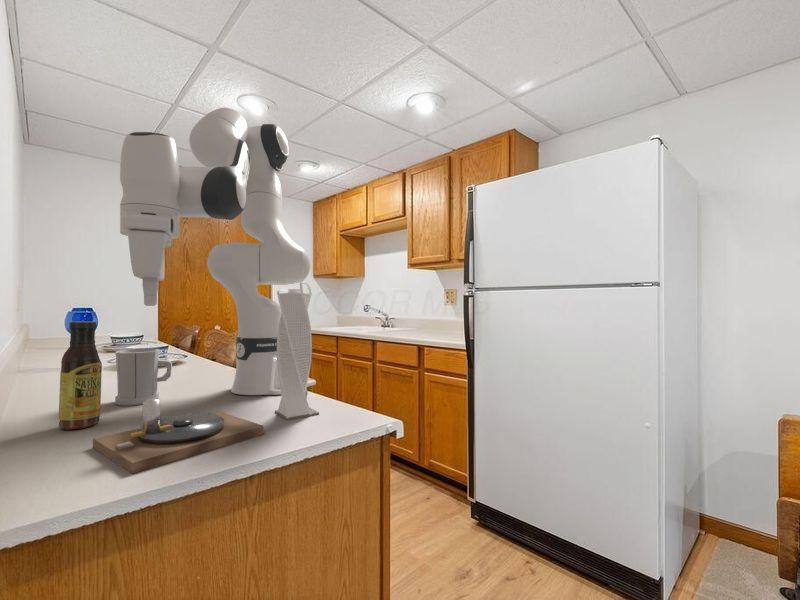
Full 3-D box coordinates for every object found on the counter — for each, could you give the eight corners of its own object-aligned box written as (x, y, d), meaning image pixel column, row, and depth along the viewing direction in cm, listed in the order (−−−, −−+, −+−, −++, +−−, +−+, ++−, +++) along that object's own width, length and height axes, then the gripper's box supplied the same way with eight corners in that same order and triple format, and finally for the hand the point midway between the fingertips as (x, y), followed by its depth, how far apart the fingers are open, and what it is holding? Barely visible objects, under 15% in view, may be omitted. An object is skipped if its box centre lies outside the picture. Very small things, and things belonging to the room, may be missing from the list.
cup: (152, 393, 104) (152, 346, 104) (174, 398, 99) (175, 349, 99) (106, 403, 94) (107, 351, 94) (129, 408, 90) (129, 354, 90)
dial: (199, 414, 79) (200, 382, 79) (239, 427, 71) (239, 392, 71) (114, 434, 67) (115, 397, 67) (151, 452, 60) (151, 410, 60)
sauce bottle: (77, 432, 74) (77, 322, 74) (49, 430, 75) (49, 322, 75) (109, 421, 80) (110, 320, 80) (83, 419, 82) (83, 320, 81)
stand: (216, 418, 83) (217, 409, 83) (263, 434, 73) (263, 424, 73) (92, 447, 66) (92, 436, 66) (132, 473, 57) (132, 460, 57)
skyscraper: (322, 416, 85) (322, 281, 85) (284, 422, 80) (285, 280, 80) (305, 407, 92) (305, 282, 92) (269, 413, 87) (270, 281, 87)
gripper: (135, 232, 79) (135, 304, 79) (121, 214, 61) (121, 307, 61) (172, 235, 82) (172, 304, 82) (170, 218, 64) (170, 307, 64)
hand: (150, 305), depth 71 cm, fingers closed
